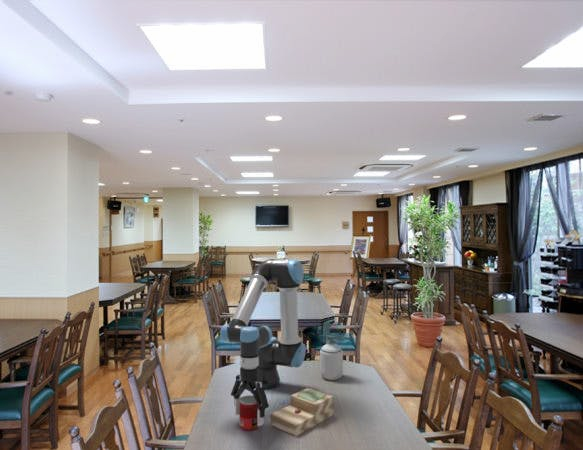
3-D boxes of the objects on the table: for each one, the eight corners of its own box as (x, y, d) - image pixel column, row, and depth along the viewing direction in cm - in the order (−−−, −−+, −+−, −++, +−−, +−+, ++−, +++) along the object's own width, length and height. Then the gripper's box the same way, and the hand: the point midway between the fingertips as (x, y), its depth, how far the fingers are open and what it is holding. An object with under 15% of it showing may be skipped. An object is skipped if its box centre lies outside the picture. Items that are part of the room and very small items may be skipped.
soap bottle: (334, 383, 208) (334, 322, 208) (315, 377, 216) (315, 319, 216) (347, 376, 217) (347, 318, 217) (328, 371, 225) (328, 315, 225)
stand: (296, 436, 155) (296, 414, 155) (270, 424, 164) (270, 403, 164) (333, 414, 172) (333, 395, 172) (308, 405, 182) (308, 386, 182)
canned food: (256, 432, 158) (256, 404, 158) (236, 430, 159) (236, 402, 159) (261, 423, 165) (261, 396, 165) (242, 421, 167) (242, 394, 167)
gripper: (222, 361, 168) (222, 413, 168) (264, 376, 151) (263, 433, 151) (236, 357, 174) (236, 407, 173) (278, 371, 157) (277, 426, 156)
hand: (249, 419), depth 162 cm, fingers open, 13 cm apart
